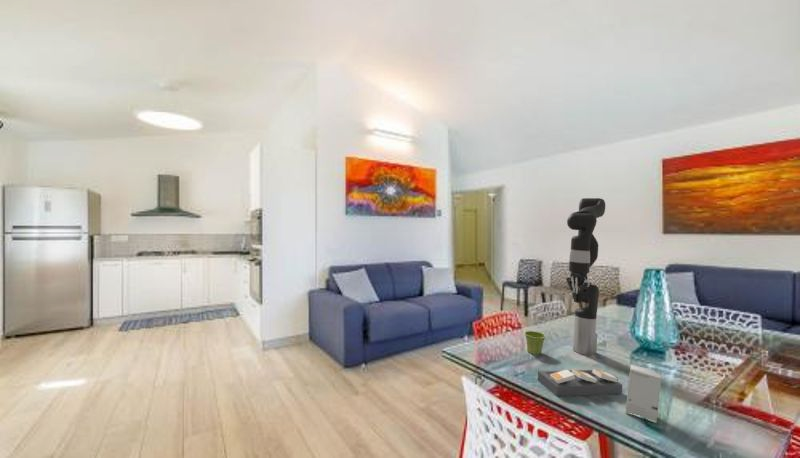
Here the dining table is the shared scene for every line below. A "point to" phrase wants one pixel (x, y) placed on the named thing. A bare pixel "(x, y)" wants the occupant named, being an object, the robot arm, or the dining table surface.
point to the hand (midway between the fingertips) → (577, 302)
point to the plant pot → (534, 341)
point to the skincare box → (643, 392)
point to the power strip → (579, 385)
